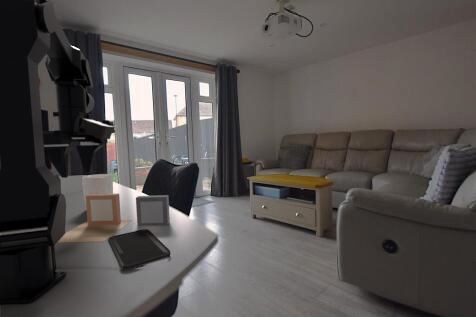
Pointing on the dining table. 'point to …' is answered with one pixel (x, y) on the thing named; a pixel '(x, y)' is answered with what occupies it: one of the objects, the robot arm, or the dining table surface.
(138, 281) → the dining table surface
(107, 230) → the cork mat
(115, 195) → the terracotta tile
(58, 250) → the dining table surface
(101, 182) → the white cup
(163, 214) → the gray box
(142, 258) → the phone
